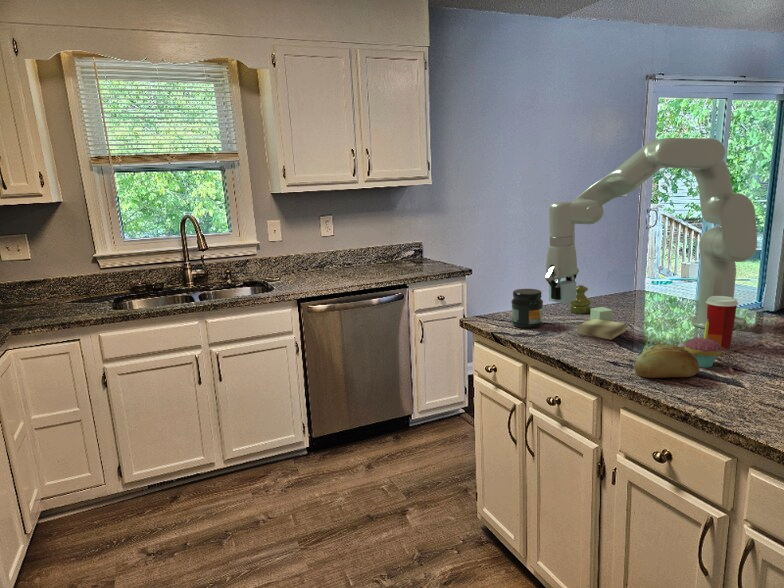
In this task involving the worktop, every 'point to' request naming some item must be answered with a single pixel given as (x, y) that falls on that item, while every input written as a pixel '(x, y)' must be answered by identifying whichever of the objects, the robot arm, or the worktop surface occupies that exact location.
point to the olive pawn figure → (581, 301)
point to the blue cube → (565, 292)
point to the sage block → (601, 313)
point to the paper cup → (721, 319)
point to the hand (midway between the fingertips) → (562, 296)
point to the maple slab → (601, 328)
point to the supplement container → (527, 308)
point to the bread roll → (666, 362)
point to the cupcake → (704, 349)
